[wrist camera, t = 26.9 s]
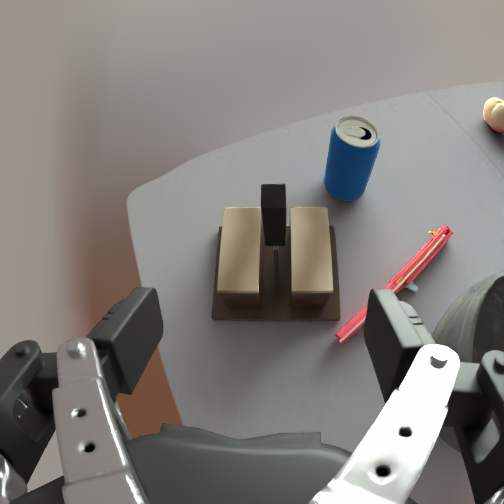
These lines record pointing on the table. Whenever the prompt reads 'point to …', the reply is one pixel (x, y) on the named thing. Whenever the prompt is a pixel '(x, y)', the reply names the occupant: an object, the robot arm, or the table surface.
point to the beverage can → (351, 157)
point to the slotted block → (263, 270)
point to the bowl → (473, 330)
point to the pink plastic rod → (401, 279)
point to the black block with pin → (274, 218)
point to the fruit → (494, 114)
